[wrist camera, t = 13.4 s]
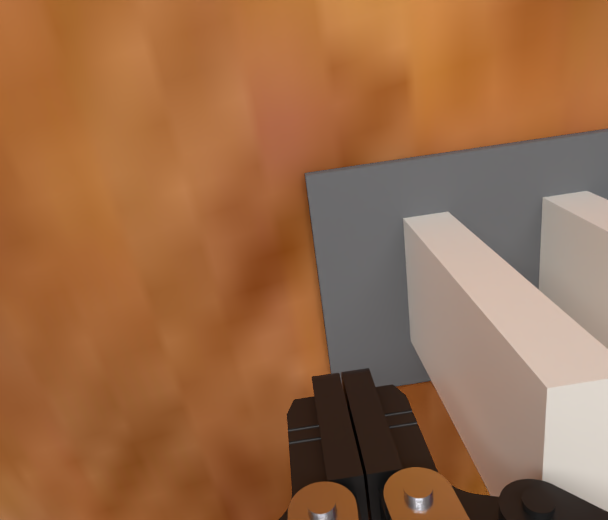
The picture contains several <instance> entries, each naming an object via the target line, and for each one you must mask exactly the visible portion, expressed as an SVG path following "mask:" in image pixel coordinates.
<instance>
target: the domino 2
mask: <svg viewBox="0 0 608 520" xmlns="http://www.w3.org/2000/svg"><path fill="white" fill-rule="evenodd" d="M539 290H540V291H541V292H542V293H543V294H544V295H545V296H547V297H548V298H549V299H550V300H551V301H552V302H554V303H555V304H556V305H557V306H558V307H559V308H560V309H562V310H563V311H564V312H565V313H566V314H567V315H569V316H570V317H571V318H572V319H573V320H574V321H576V322H577V323H578V324H579V325H580V326H581V327H583V328H584V329H585V330H586V331H587V332H588V333H589V334H591V335H592V336H593V337H594V338H595V339H596V340H598V341H599V342H600V343H601V344H602V345H603V346H605V347H606V348H607V349H608V200H607V199H605V198H602V197H600V196H598V195H595V194H593V193H591V192H589V191H582V192H576V193H569V194H562V195H556V196H549V197H543V201H542V224H541V247H540V270H539Z"/></svg>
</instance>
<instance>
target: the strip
mask: <svg viewBox="0 0 608 520" xmlns="http://www.w3.org/2000/svg"><path fill="white" fill-rule="evenodd" d="M305 179H306V187H307V195H308V202H309V210H310V217H311V225H312V233H313V240H314V248H315V256H316V263H317V271H318V278H319V286H320V294H321V301H322V309H323V316H324V324H325V332H326V339H327V347H328V354H329V362H330V370H331V374H333V373H339V374H340V378H341V372H345V371H352V370H358V369H365V368H369V369H370V372H371V375H372V378H373V381H374V384H375V387H379V386H385V385H391V384H393V385H394V386H401V385H408V384H414V383H420V382H427V381H431V379H430V377H429V375H428V373H427V371H426V369H425V368H424V366H423V364H422V362H421V360H420V358H419V356H418V354H417V352H416V350H415V348H414V346H413V344H412V342H411V338H410V322H409V306H408V289H407V273H406V257H405V240H404V224H403V218H408V217H415V216H422V215H428V214H435V213H442V212H449V213H450V214H451V215H453V216H454V217H455V218H456V219H457V220H458V221H460V222H461V223H462V224H463V225H464V226H465V227H466V228H468V229H469V230H470V231H471V232H472V233H473V234H475V235H476V236H477V237H478V238H479V239H480V240H482V241H483V242H484V243H485V244H486V245H487V246H489V247H490V248H491V249H492V250H493V251H494V252H495V253H497V254H498V255H499V256H500V257H501V258H502V259H504V260H505V261H506V262H507V263H508V264H509V265H511V266H512V267H513V268H514V269H515V270H516V271H518V272H519V273H520V274H521V275H522V276H523V277H525V278H526V279H527V280H528V281H529V282H530V283H531V284H533V285H534V286H535V287H536V288H537V289H538V290H539V270H540V247H541V224H542V201H543V197H549V196H556V195H562V194H569V193H576V192H582V191H589V192H591V193H593V194H595V195H598V196H600V197H602V198H605V199H607V200H608V129H602V130H595V131H589V132H582V133H575V134H568V135H561V136H554V137H548V138H541V139H534V140H527V141H520V142H514V143H507V144H500V145H493V146H486V147H479V148H473V149H466V150H459V151H452V152H445V153H439V154H432V155H425V156H418V157H411V158H404V159H398V160H391V161H384V162H377V163H370V164H363V165H357V166H350V167H343V168H336V169H329V170H323V171H316V172H309V173H305ZM341 382H342V378H341Z"/></svg>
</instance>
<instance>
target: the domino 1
mask: <svg viewBox="0 0 608 520" xmlns="http://www.w3.org/2000/svg"><path fill="white" fill-rule="evenodd" d="M403 224H404V240H405V257H406V273H407V289H408V306H409V322H410V338H411V342H412V344H413V346H414V348H415V350H416V352H417V354H418V356H419V358H420V360H421V362H422V364H423V366H424V368H425V369H426V371H427V373H428V375H429V377H430V379H431V381H432V383H433V385H434V387H435V389H436V391H437V393H438V395H439V397H440V399H441V400H442V402H443V404H444V406H445V408H446V410H447V412H448V414H449V416H450V418H451V420H452V422H453V424H454V426H455V428H456V429H457V431H458V433H459V435H460V437H461V439H462V441H463V443H464V445H465V447H466V449H467V451H468V453H469V455H470V457H471V458H472V460H473V462H474V464H475V466H476V468H477V470H478V472H479V474H480V476H481V478H482V480H483V482H484V484H485V486H486V488H487V489H488V491H489V493H490V495H491V496H496V497H499V496H500V493H501V491H502V490H503V488H504V487H505V486H506V485H508V484H509V483H511V482H514V481H516V480H521V479H537V480H542V481H545V482H548V483H551V484H553V485H555V486H557V487H559V488H561V489H563V490H565V491H567V492H569V493H571V494H573V495H575V496H577V497H579V498H581V499H583V500H585V501H587V502H589V503H591V504H593V505H595V506H597V507H599V508H601V509H603V510H605V511H607V512H608V349H607V348H606V347H605V346H603V345H602V344H601V343H600V342H599V341H598V340H596V339H595V338H594V337H593V336H592V335H591V334H589V333H588V332H587V331H586V330H585V329H584V328H583V327H581V326H580V325H579V324H578V323H577V322H576V321H574V320H573V319H572V318H571V317H570V316H569V315H567V314H566V313H565V312H564V311H563V310H562V309H560V308H559V307H558V306H557V305H556V304H555V303H554V302H552V301H551V300H550V299H549V298H548V297H547V296H545V295H544V294H543V293H542V292H541V291H540V290H538V289H537V288H536V287H535V286H534V285H533V284H531V283H530V282H529V281H528V280H527V279H526V278H525V277H523V276H522V275H521V274H520V273H519V272H518V271H516V270H515V269H514V268H513V267H512V266H511V265H509V264H508V263H507V262H506V261H505V260H504V259H502V258H501V257H500V256H499V255H498V254H497V253H495V252H494V251H493V250H492V249H491V248H490V247H489V246H487V245H486V244H485V243H484V242H483V241H482V240H480V239H479V238H478V237H477V236H476V235H475V234H473V233H472V232H471V231H470V230H469V229H468V228H466V227H465V226H464V225H463V224H462V223H461V222H460V221H458V220H457V219H456V218H455V217H454V216H453V215H451V214H450V213H449V212H442V213H435V214H428V215H422V216H415V217H408V218H403Z"/></svg>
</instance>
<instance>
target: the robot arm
mask: <svg viewBox="0 0 608 520" xmlns="http://www.w3.org/2000/svg"><path fill="white" fill-rule="evenodd" d="M341 378H342V382H341ZM341 378H340V374H339V373H333V374H326V375H320V376H313V377H312V383H313V389H314V396H315V397H308V398H302V399H295V400H294V401H293V403H292V405H291V407H290V409H289V411H288V413H287V422H288V436H289V451H290V466H291V480H292V499H291V501H290V504H289V507H288V509H287V511H286V512H285V513H284V514H283V516H282V517H281V518H280V519H279V520H608V512H607V511H605V510H603V509H601V508H599V507H597V506H595V505H593V504H591V503H589V502H587V501H585V500H583V499H581V498H579V497H577V496H575V495H573V494H571V493H569V492H567V491H565V490H563V489H561V488H559V487H557V486H555V485H553V484H551V483H548V482H545V481H542V480H537V479H521V480H516V481H514V482H511V483H509V484H508V485H506V486H505V487H504V488H503V490H502V491H501V493H500V496H499V497H496V496H488V495H479V494H473V493H468V492H465V491H462V490H460V489H457V488H455V487H454V486H452V485H451V484H450V483H449V481H448V480H447V479H446V478H445V477H444V476H442V475H441V474H439V473H438V471H437V469H436V467H435V464H434V462H433V460H432V457H431V455H430V452H429V450H428V448H427V445H426V443H425V440H424V438H423V435H422V433H421V431H420V428H419V426H418V425H417V421H416V419H415V416H414V414H413V413H412V409H411V407H410V404H409V402H408V399H407V397H406V395H405V394H403V393H402V392H401V391H400V390H399V389H398V388H396V387H395V386H394V385H393V384H391V385H385V386H379V387H375V384H374V381H373V378H372V375H371V372H370V369H369V368H365V369H358V370H352V371H345V372H341Z"/></svg>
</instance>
